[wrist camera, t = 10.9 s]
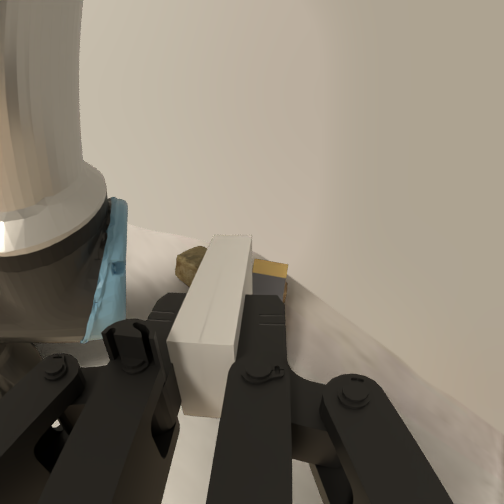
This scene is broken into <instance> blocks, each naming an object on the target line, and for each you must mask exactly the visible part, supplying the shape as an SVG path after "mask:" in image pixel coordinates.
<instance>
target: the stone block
mask: <svg viewBox="0 0 504 504" xmlns="http://www.w3.org/2000/svg"><path fill="white" fill-rule="evenodd" d="M206 251H207V248H205V247H203V246H197V247H194V248H192V249H189V250H187V251H185V252H183V253H182V254H180V255H177V259H176V269H175V275H176V276H177V277H178V278H179V279H180V280H181V281H183V282H184V283H185V284H186V285H187V286H189V287H190V286H191V284H192V281H193V279H194V277H195V275H196V273H197V271H198V268H199V266H200V264H201V262H202V260H203V258H204V255H205V253H206Z"/></svg>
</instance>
